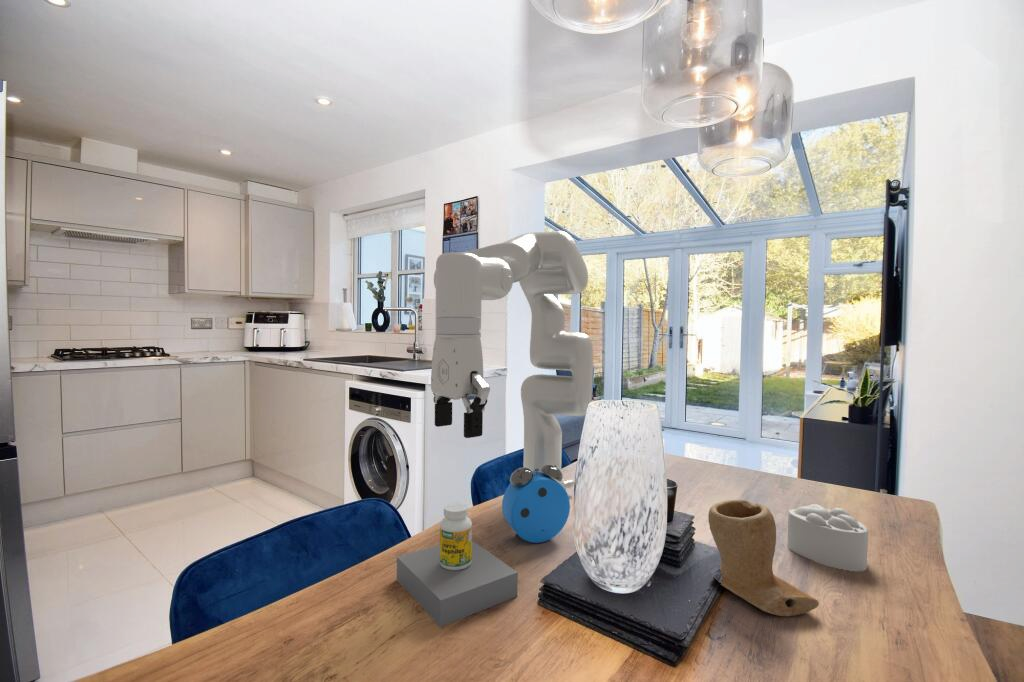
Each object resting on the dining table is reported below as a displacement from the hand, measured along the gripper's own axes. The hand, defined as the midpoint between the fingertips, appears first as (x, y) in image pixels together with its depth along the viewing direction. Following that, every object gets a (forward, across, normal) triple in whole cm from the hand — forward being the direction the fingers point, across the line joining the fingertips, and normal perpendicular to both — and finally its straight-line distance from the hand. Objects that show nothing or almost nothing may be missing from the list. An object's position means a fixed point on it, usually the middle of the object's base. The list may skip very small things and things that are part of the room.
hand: (457, 430), depth 81 cm
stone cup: (+27, +31, +38) cm, 56 cm away
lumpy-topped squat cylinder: (+27, +32, +65) cm, 77 cm away
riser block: (+26, +1, -1) cm, 26 cm away
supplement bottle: (+22, 0, 0) cm, 23 cm away
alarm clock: (+27, -6, +22) cm, 35 cm away
